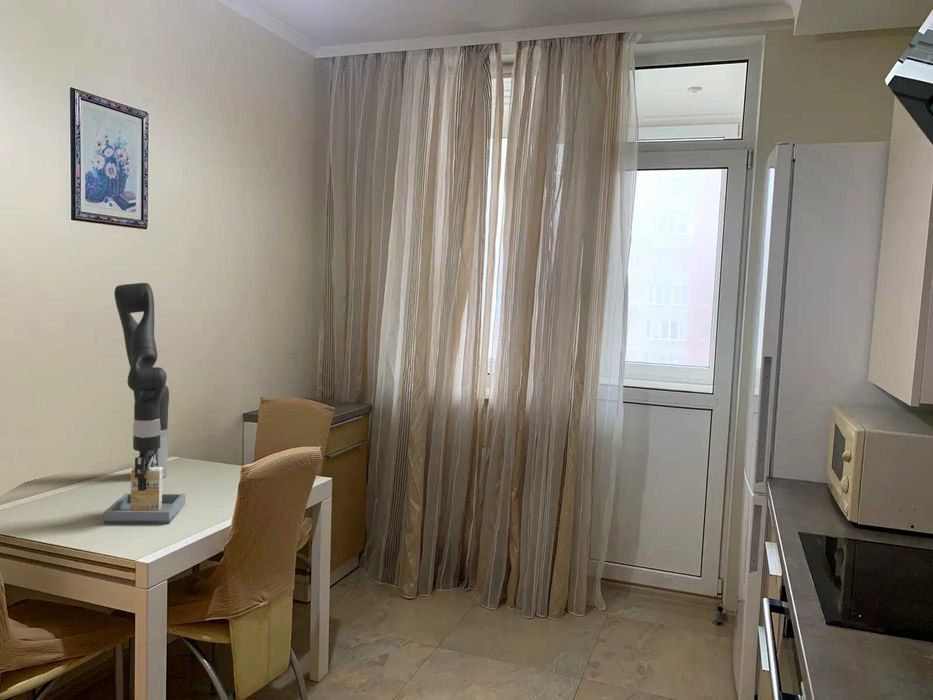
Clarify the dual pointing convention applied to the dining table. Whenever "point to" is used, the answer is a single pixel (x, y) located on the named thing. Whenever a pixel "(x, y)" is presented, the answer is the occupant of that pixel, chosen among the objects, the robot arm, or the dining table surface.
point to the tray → (124, 515)
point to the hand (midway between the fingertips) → (146, 486)
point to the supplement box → (147, 491)
